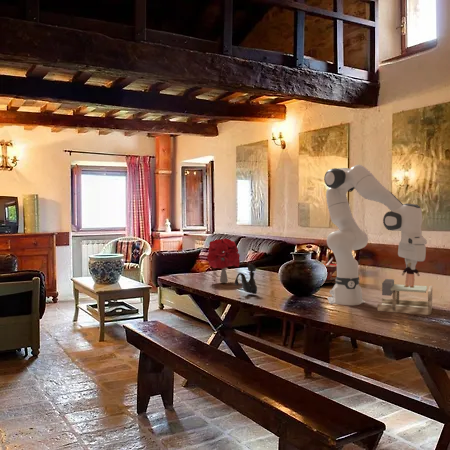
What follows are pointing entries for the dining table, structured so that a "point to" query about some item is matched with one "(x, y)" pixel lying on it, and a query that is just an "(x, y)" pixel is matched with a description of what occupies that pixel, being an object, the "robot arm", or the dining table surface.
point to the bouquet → (223, 256)
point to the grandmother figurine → (410, 275)
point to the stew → (331, 271)
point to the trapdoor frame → (407, 304)
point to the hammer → (399, 287)
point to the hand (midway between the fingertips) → (410, 268)
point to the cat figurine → (250, 285)
